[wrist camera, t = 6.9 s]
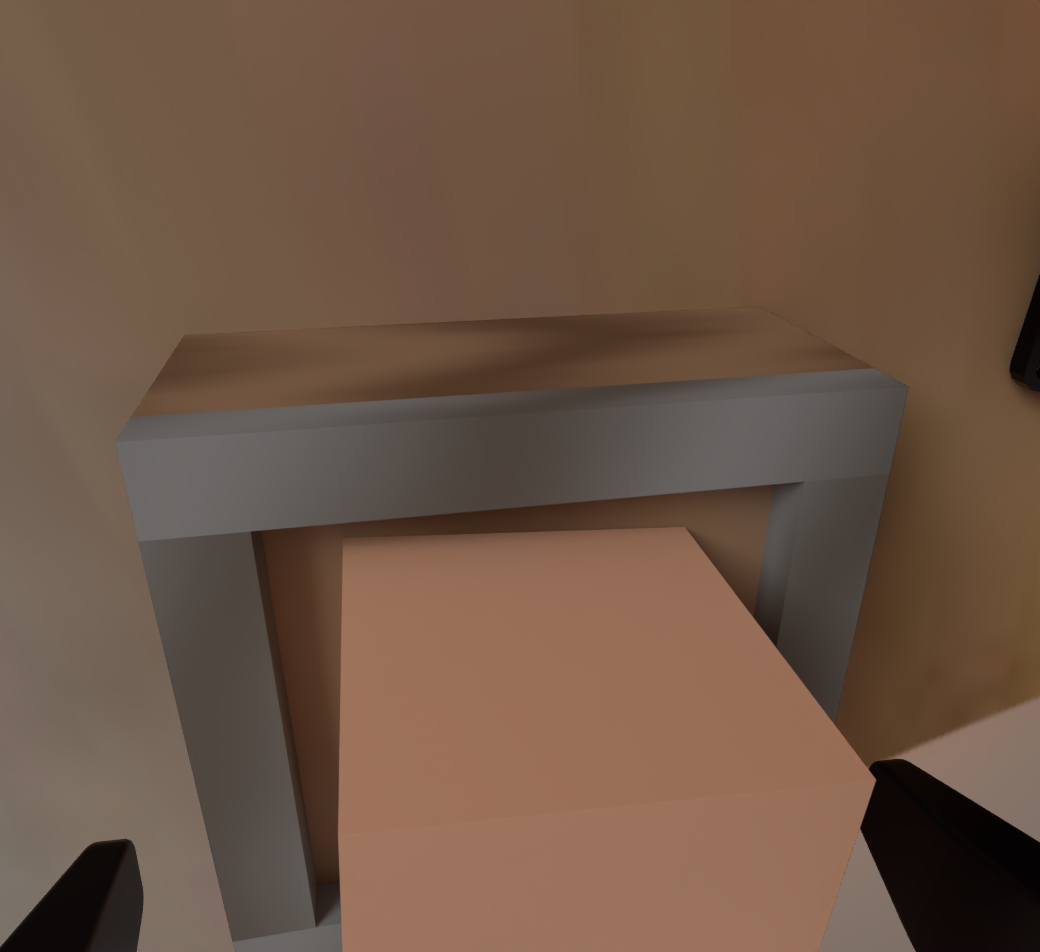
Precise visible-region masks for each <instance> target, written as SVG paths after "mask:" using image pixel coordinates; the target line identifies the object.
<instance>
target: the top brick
mask: <svg viewBox="0 0 1040 952" xmlns="http://www.w3.org/2000/svg"><path fill="white" fill-rule="evenodd" d="M875 782H876V779H875V778H874V776H873V775H872V774H871V772H870V771H869V770H868V768H867V767H866V766H865V764H864V763H863V762H862V760H861V759H860V758H859V757H858V755H857V754H856V753H855V751H854V750H853V749H852V747H851V746H850V745H849V743H848V742H847V741H846V739H845V738H844V737H843V735H842V734H841V733H840V731H839V730H838V729H837V727H836V726H835V725H834V723H833V722H832V721H831V720H830V718H829V717H828V716H827V714H826V713H825V712H824V710H823V709H822V708H821V706H820V705H819V704H818V702H817V701H816V700H815V698H814V697H813V696H812V694H811V693H810V692H809V690H808V689H807V688H806V686H805V685H804V684H803V683H802V681H801V680H800V679H799V677H798V676H797V675H796V673H795V672H794V671H793V669H792V668H791V667H790V665H789V664H788V663H787V661H786V660H785V659H784V657H783V656H782V655H781V653H780V652H779V651H778V649H777V648H776V647H775V646H774V644H773V643H772V642H771V640H770V639H769V638H768V636H767V635H766V634H765V632H764V631H763V630H762V628H761V627H760V626H759V624H758V623H757V622H756V620H755V619H754V618H753V616H752V615H751V614H750V612H749V611H748V610H747V609H746V607H745V606H744V605H743V603H742V602H741V601H740V599H739V598H738V597H737V595H736V594H735V593H734V591H733V590H732V589H731V587H730V586H729V585H728V583H727V582H726V581H725V579H724V578H723V577H722V575H721V574H720V573H719V572H718V570H717V569H716V568H715V566H714V565H713V564H712V562H711V561H710V560H709V558H708V557H707V556H706V554H705V553H704V552H703V550H702V549H701V548H700V546H699V545H698V544H697V542H696V541H695V540H694V538H693V537H692V536H691V535H690V533H689V532H688V531H687V529H686V528H685V527H666V528H635V529H605V530H575V531H545V532H515V533H485V534H455V535H425V536H395V537H366V538H343V564H342V625H341V686H340V746H339V807H338V847H339V873H340V899H341V925H342V950H343V952H818V951H819V948H820V945H821V942H822V939H823V936H824V934H825V930H826V927H827V925H828V922H829V919H830V915H831V913H832V910H833V907H834V904H835V901H836V898H837V895H838V892H839V889H840V886H841V883H842V880H843V877H844V874H845V871H846V868H847V865H848V862H849V859H850V856H851V853H852V850H853V847H854V844H855V841H856V838H857V835H858V832H859V830H860V827H861V824H862V821H863V818H864V815H865V812H866V809H867V806H868V803H869V800H870V797H871V794H872V791H873V788H874V785H875Z"/></svg>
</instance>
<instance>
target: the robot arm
mask: <svg viewBox="0 0 1040 952" xmlns="http://www.w3.org/2000/svg"><path fill="white" fill-rule="evenodd" d="M1039 362H1040V275H1039V278H1038V281H1037V284H1036V288H1035V291H1034V294H1033V297H1032V300H1031V303H1030V306H1029V309H1028V312H1027V315H1026V318H1025V321H1024V324H1023V327H1022V330H1021V333H1020V336H1019V339H1018V342H1017V345H1016V348H1015V351H1014V354H1013V357H1012V360H1011V365H1010V373H1011V377H1012V379H1013V380H1014V381H1015V382H1016V383H1018V384H1020V385H1022V386H1024V387H1027V388H1029V389H1031V390H1035V391H1039V392H1040V368H1039V369H1038V370H1036V369H1037V366H1038V364H1039ZM868 770H869V771H870V772H871V774H872V775H873V776H874V778H875V779H876V782H875V785H874V788H873V791H872V794H871V797H870V800H869V803H868V806H867V809H866V812H865V815H864V818H863V821H862V824H861V827H860V829H861V831H862V834H863V836H864V838H865V841H866V843H867V845H868V847H869V850H870V852H871V854H872V857H873V859H874V861H875V863H876V866H877V868H878V870H879V872H880V875H881V877H882V879H883V881H884V884H885V886H886V888H887V891H888V893H889V895H890V897H891V899H892V902H893V904H894V906H895V909H896V911H897V913H898V915H899V918H900V920H901V922H902V924H903V927H904V929H905V931H906V933H907V935H908V937H909V939H910V941H911V943H912V945H913V947H914V949H915V951H916V952H1040V842H1038V841H1037V840H1035V839H1034V838H1032V837H1030V836H1029V835H1027V834H1025V833H1024V832H1022V831H1021V830H1019V829H1017V828H1016V827H1014V826H1012V825H1011V824H1009V823H1008V822H1006V821H1004V820H1003V819H1001V818H1000V817H998V816H996V815H995V814H993V813H991V812H990V811H988V810H987V809H985V808H983V807H982V806H980V805H978V804H977V803H975V802H974V801H972V800H970V799H969V798H967V797H965V796H964V795H962V794H961V793H959V792H957V791H956V790H954V789H952V788H951V787H949V786H948V785H946V784H944V783H943V782H941V781H939V780H938V779H936V778H935V777H933V776H931V775H930V774H928V773H927V772H925V771H923V770H922V769H920V768H918V767H916V766H915V765H913V764H912V763H910V762H908V761H906V760H903V759H891V760H882V761H876V762H874V763H873V764H872V765H871V766H870V767H869V769H868ZM142 912H143V887H142V881H141V876H140V871H139V866H138V860H137V855H136V850H135V846H134V844H133V843H132V841H131V840H128V839H120V840H110V841H100V842H95V843H93V844H91V845H89V846H88V847H87V848H86V849H85V850H84V851H83V852H82V853H81V854H80V856H79V857H78V858H77V859H76V860H75V861H74V863H73V864H72V865H71V866H70V867H69V868H68V869H67V871H66V872H65V873H64V874H63V875H62V876H61V878H60V879H59V880H58V881H57V882H56V883H55V884H54V886H53V887H52V888H51V889H50V890H49V891H48V892H47V894H46V895H45V896H44V897H43V898H42V899H41V901H40V902H39V903H38V904H37V905H36V906H35V907H34V909H33V910H32V911H31V912H30V913H29V914H28V916H27V917H26V918H25V919H24V920H23V921H22V922H21V924H20V925H19V926H18V927H17V928H16V929H15V931H14V932H13V933H12V934H11V935H10V936H9V937H8V939H7V940H6V941H5V942H4V943H3V944H2V946H1V947H0V952H137V945H138V939H139V932H140V926H141V919H142Z"/></svg>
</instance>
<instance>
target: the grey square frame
mask: <svg viewBox="0 0 1040 952" xmlns="http://www.w3.org/2000/svg"><path fill="white" fill-rule="evenodd" d="M908 388H909V387H908V386H906V385H905V384H903V383H901V382H899V381H897V380H895V379H893V378H892V377H890V376H888V375H886V374H884V373H882V372H880V371H879V370H877V369H875V368H873V367H871V366H869V365H867V364H866V363H864V362H862V361H860V360H858V359H856V358H854V357H853V356H851V355H849V354H847V353H845V352H843V351H841V350H840V349H838V348H836V347H834V346H832V345H830V344H828V343H827V342H825V341H823V340H821V339H819V338H817V337H815V336H814V335H812V334H810V333H808V332H806V331H804V330H802V329H801V328H799V327H797V326H795V325H793V324H791V323H789V322H788V321H786V320H784V319H782V318H780V317H778V316H776V315H775V314H773V313H771V312H769V311H767V310H765V309H763V308H762V307H742V308H721V309H701V310H681V311H661V312H641V313H621V314H600V315H580V316H560V317H540V318H520V319H500V320H479V321H459V322H439V323H419V324H399V325H379V326H358V327H338V328H318V329H298V330H278V331H258V332H237V333H217V334H197V335H184V336H183V338H182V339H181V341H180V343H179V344H178V346H177V347H176V349H175V350H174V352H173V353H172V355H171V356H170V358H169V360H168V361H167V363H166V364H165V366H164V367H163V369H162V370H161V372H160V373H159V375H158V377H157V378H156V380H155V381H154V383H153V384H152V386H151V387H150V389H149V390H148V392H147V394H146V395H145V397H144V398H143V400H142V401H141V403H140V404H139V406H138V407H137V409H136V410H135V412H134V414H133V415H132V417H131V418H130V420H129V421H128V423H127V424H126V426H125V427H124V429H123V431H122V432H121V434H120V435H119V437H118V438H117V440H116V441H115V445H116V449H117V454H118V458H119V462H120V466H121V471H122V475H123V479H124V483H125V488H126V492H127V496H128V500H129V505H130V509H131V513H132V517H133V522H134V526H135V530H136V534H137V539H138V543H139V547H140V551H141V555H142V560H143V564H144V568H145V572H146V577H147V581H148V585H149V589H150V594H151V598H152V602H153V606H154V611H155V615H156V619H157V623H158V628H159V632H160V636H161V640H162V645H163V649H164V653H165V657H166V662H167V666H168V670H169V674H170V678H171V683H172V687H173V691H174V695H175V700H176V704H177V708H178V712H179V717H180V721H181V725H182V729H183V734H184V738H185V742H186V746H187V751H188V755H189V759H190V763H191V768H192V772H193V776H194V780H195V785H196V789H197V793H198V797H199V801H200V806H201V810H202V814H203V818H204V823H205V827H206V831H207V835H208V840H209V844H210V848H211V852H212V857H213V861H214V865H215V869H216V874H217V878H218V882H219V886H220V891H221V895H222V899H223V903H224V908H225V912H226V916H227V920H228V924H229V929H230V933H231V937H232V941H233V946H234V950H235V952H343V950H342V925H341V899H340V873H339V847H338V807H339V746H340V686H341V625H342V564H343V538H366V537H395V536H425V535H455V534H485V533H515V532H545V531H575V530H605V529H635V528H666V527H685V528H686V529H687V531H688V532H689V533H690V535H691V536H692V537H693V538H694V540H695V541H696V542H697V544H698V545H699V546H700V548H701V549H702V550H703V552H704V553H705V554H706V556H707V557H708V558H709V560H710V561H711V562H712V564H713V565H714V566H715V568H716V569H717V570H718V572H719V573H720V574H721V575H722V577H723V578H724V579H725V581H726V582H727V583H728V585H729V586H730V587H731V589H732V590H733V591H734V593H735V594H736V595H737V597H738V598H739V599H740V601H741V602H742V603H743V605H744V606H745V607H746V609H747V610H748V611H749V612H750V614H751V615H752V616H753V618H754V619H755V620H756V622H757V623H758V624H759V626H760V627H761V628H762V630H763V631H764V632H765V634H766V635H767V636H768V638H769V639H770V640H771V642H772V643H773V644H774V646H775V647H776V648H777V649H778V651H779V652H780V653H781V655H782V656H783V657H784V659H785V660H786V661H787V663H788V664H789V665H790V667H791V668H792V669H793V671H794V672H795V673H796V675H797V676H798V677H799V679H800V680H801V681H802V683H803V684H804V685H805V686H806V688H807V689H808V690H809V692H810V693H811V694H812V696H813V697H814V698H815V700H816V701H817V702H818V704H819V705H820V706H821V708H822V709H823V710H824V712H825V713H826V714H827V716H828V717H829V718H830V720H831V721H832V722H833V723H834V725H835V721H836V716H837V712H838V707H839V702H840V698H841V693H842V689H843V684H844V680H845V675H846V671H847V666H848V661H849V657H850V652H851V648H852V643H853V639H854V634H855V630H856V625H857V620H858V616H859V611H860V607H861V602H862V598H863V593H864V589H865V584H866V579H867V575H868V570H869V566H870V561H871V557H872V552H873V547H874V543H875V538H876V534H877V529H878V525H879V520H880V516H881V511H882V506H883V502H884V497H885V493H886V488H887V484H888V479H889V475H890V470H891V465H892V461H893V456H894V452H895V447H896V443H897V438H898V433H899V429H900V424H901V420H902V415H903V411H904V406H905V402H906V397H907V392H908Z"/></svg>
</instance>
